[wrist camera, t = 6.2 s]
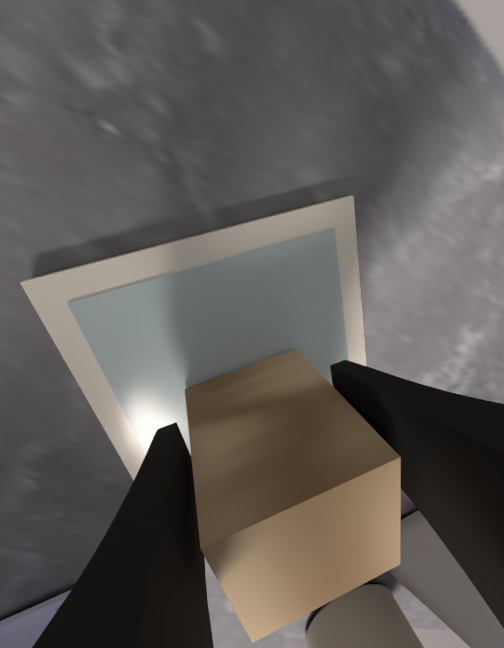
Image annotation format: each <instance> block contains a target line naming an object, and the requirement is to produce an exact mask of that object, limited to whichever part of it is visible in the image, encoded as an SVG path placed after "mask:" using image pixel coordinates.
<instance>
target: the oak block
mask: <svg viewBox="0 0 504 648" xmlns="http://www.w3.org/2000/svg"><path fill="white" fill-rule="evenodd" d="M185 399H186V408H187V418H188V428H189V438H190V448H191V458H192V468H193V478H194V488H195V498H196V508H197V518H198V528H199V538H200V548H201V551H202V553H203V554H204V556H205V558H206V560H207V561H208V563H209V565H210V567H211V569H212V570H213V572H214V574H215V576H216V578H217V579H218V581H219V583H220V585H221V587H222V588H223V590H224V592H225V594H226V596H227V597H228V599H229V601H230V603H231V605H232V606H233V608H234V610H235V612H236V614H237V615H238V617H239V619H240V621H241V623H242V624H243V626H244V628H245V630H246V632H247V633H248V635H249V637H250V639H251V641H252V642H253V643H254V642H256V641H257V640H259V639H261V638H263V637H265V636H267V635H269V634H271V633H272V632H274V631H276V630H278V629H280V628H282V627H284V626H286V625H287V624H289V623H291V622H293V621H295V620H297V619H299V618H301V617H302V616H304V615H306V614H308V613H310V612H312V611H314V610H316V609H317V608H319V607H321V606H323V605H325V604H327V603H329V602H331V601H332V600H334V599H336V598H338V597H340V596H342V595H344V594H346V593H347V592H349V591H351V590H353V589H355V588H357V587H359V586H361V585H362V584H364V583H366V582H368V581H370V580H372V579H374V578H376V577H377V576H379V575H381V574H383V573H385V572H387V571H389V570H391V569H392V568H394V567H396V566H398V565H400V525H401V457H400V456H399V455H398V454H397V453H396V452H395V451H394V450H393V449H392V448H391V447H390V445H389V444H388V443H387V442H386V441H385V440H384V439H383V438H382V437H381V436H380V435H379V434H378V433H377V432H376V431H375V430H374V429H373V428H372V427H371V426H370V425H369V424H368V422H367V421H366V420H365V419H364V418H363V417H362V416H361V415H360V414H359V413H358V412H357V411H356V410H355V409H354V408H353V407H352V406H351V405H350V404H349V403H348V402H347V401H346V399H345V398H344V397H343V396H342V395H341V394H340V393H339V392H338V391H337V390H336V389H335V388H334V387H333V386H332V385H331V384H330V383H329V382H328V381H327V380H326V379H325V378H324V377H323V375H322V374H321V373H320V372H319V371H318V370H317V369H316V368H315V367H314V366H313V365H312V364H311V363H310V362H309V361H308V360H307V359H306V358H305V357H304V356H303V355H302V354H301V352H300V351H299V350H298V349H295V350H292V351H289V352H286V353H283V354H281V355H278V356H275V357H272V358H270V359H267V360H264V361H261V362H259V363H256V364H253V365H250V366H247V367H245V368H242V369H239V370H236V371H234V372H231V373H228V374H225V375H222V376H220V377H217V378H214V379H211V380H209V381H206V382H203V383H200V384H198V385H195V386H192V387H189V388H186V389H185Z"/></svg>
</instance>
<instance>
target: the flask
mask: <svg viewBox="0 0 504 648" xmlns="http://www.w3.org/2000/svg"><path fill="white" fill-rule="evenodd" d="M388 572H389V573H390V574H391V575H392V576H393V577H395V578H396V579H397V580H398V581H399V582H400V583H401V584H402V585H403V586H404V587H406V588H407V589H408V590H409V591H410V592H411V593H412V594H413V595H415V596H416V597H417V598H418V599H419V600H420V601H421V602H422V603H423V604H425V605H426V606H427V607H428V608H429V609H430V610H431V611H432V612H433V613H434V614H436V615H437V616H438V617H439V618H440V619H441V620H442V621H443V622H444V623H445V624H446V625H447V626H448V627H449V628H450V629H451V630H453V631H454V632H455V633H456V634H457V635H458V636H459V637H460V638H461V639H462V640H463V641H464V642H465V643H466V644H467V645H469V646H470V647H471V648H504V628H503V627H502V625H501V624H500V622H499V621H498V619H497V618H496V617H495V615H494V614H493V612H492V611H491V609H490V608H489V606H488V605H487V604H486V602H485V601H484V599H483V598H482V596H481V595H480V594H479V592H478V591H477V589H476V588H475V586H474V585H473V584H472V582H471V581H470V579H469V578H468V576H467V575H466V573H465V572H464V571H463V569H462V568H461V567H460V565H459V564H458V562H457V561H456V560H455V558H454V557H453V556H452V554H451V553H450V551H449V550H448V549H447V547H446V546H445V545H444V543H443V542H442V540H441V539H440V538H439V536H438V535H437V534H436V532H435V531H434V530H433V528H432V527H431V526H430V524H429V523H428V522H427V520H426V519H425V518H424V516H423V515H422V514H421V512H420V511H419V510H418V511H416V512H414V513H413V514H411V515H409V516H407V517H406V518H404V519H402V520H401V525H400V565H398V566H396V567H394V568H392V569H391V570H389V571H388Z"/></svg>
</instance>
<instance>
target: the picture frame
mask: <svg viewBox="0 0 504 648" xmlns="http://www.w3.org/2000/svg"><path fill="white" fill-rule="evenodd" d="M20 284H21V286H22V287H23V289H24V291H25V292H26V294H27V296H28V298H29V299H30V301H31V303H32V305H33V306H34V308H35V310H36V312H37V313H38V315H39V317H40V319H41V320H42V322H43V324H44V326H45V327H46V329H47V331H48V333H49V334H50V336H51V338H52V339H53V341H54V343H55V345H56V346H57V348H58V350H59V352H60V353H61V355H62V357H63V359H64V360H65V362H66V364H67V366H68V367H69V369H70V371H71V373H72V374H73V376H74V378H75V379H76V381H77V383H78V385H79V386H80V388H81V390H82V392H83V393H84V395H85V397H86V399H87V400H88V402H89V404H90V406H91V407H92V409H93V411H94V413H95V414H96V416H97V418H98V420H99V421H100V423H101V425H102V426H103V428H104V430H105V432H106V433H107V435H108V437H109V439H110V440H111V442H112V444H113V446H114V447H115V449H116V451H117V453H118V454H119V456H120V458H121V460H122V461H123V463H124V465H125V466H126V468H127V470H128V472H129V473H130V475H131V477H132V479H133V480H134V479H135V477H136V475H137V473H138V471H139V469H140V467H141V464H142V462H143V460H144V458H145V456H146V453H147V451H148V449H149V447H150V444H151V442H152V440H153V437H154V435H155V433H156V431H157V429H159V428H162V427H165V426H167V425H170V424H173V423H176V422H177V425H178V427H179V429H180V432H181V434H182V436H183V439H184V441H185V443H186V446H187V448H188V450H189V452H190V455H191V448H190V438H189V428H188V418H187V408H186V399H185V389H186V388H189V387H192V386H195V385H198V384H200V383H203V382H206V381H209V380H211V379H214V378H217V377H220V376H222V375H225V374H228V373H231V372H234V371H236V370H239V369H242V368H245V367H247V366H250V365H253V364H256V363H259V362H261V361H264V360H267V359H270V358H272V357H275V356H278V355H281V354H283V353H286V352H289V351H292V350H295V349H298V350H299V351H300V352H301V354H302V355H303V356H304V357H305V358H306V359H307V360H308V361H309V362H310V363H311V364H312V365H313V366H314V367H315V368H316V369H317V370H318V371H319V372H320V373H321V374H322V375H323V377H324V378H325V379H326V380H327V381H328V382H329V383H330V384H331V385H332V386H333V384H332V377H331V370H330V365H332V364H335V363H338V362H340V361H343V360H348V361H351V362H355V363H358V364H361V365H364V366H366V354H365V341H364V328H363V314H362V301H361V288H360V275H359V262H358V249H357V235H356V222H355V209H354V196H353V195H352V196H346V197H340V198H336V199H333V200H329V201H325V202H321V203H317V204H313V205H310V206H306V207H302V208H298V209H294V210H290V211H287V212H283V213H279V214H275V215H271V216H267V217H263V218H260V219H256V220H252V221H248V222H244V223H240V224H237V225H233V226H229V227H225V228H221V229H217V230H214V231H210V232H206V233H202V234H198V235H194V236H191V237H187V238H183V239H179V240H175V241H171V242H167V243H164V244H160V245H156V246H152V247H148V248H144V249H141V250H137V251H133V252H129V253H125V254H121V255H118V256H114V257H110V258H106V259H102V260H98V261H95V262H91V263H87V264H83V265H79V266H75V267H71V268H68V269H64V270H60V271H56V272H52V273H48V274H45V275H41V276H37V277H33V278H30V279H27V280H25V281H22V282H20Z"/></svg>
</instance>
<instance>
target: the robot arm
mask: <svg viewBox="0 0 504 648" xmlns="http://www.w3.org/2000/svg"><path fill="white" fill-rule="evenodd" d="M330 370H331V377H332V384H333V387H334V388H335V389H336V390H337V391H338V392H339V393H340V394H341V395H342V396H343V397H344V398H345V399H346V401H347V402H348V403H349V404H350V405H351V406H352V407H353V408H354V409H355V410H356V411H357V412H358V413H359V414H360V415H361V416H362V417H363V418H364V419H365V420H366V421H367V422H368V424H369V425H370V426H371V427H372V428H373V429H374V430H375V431H376V432H377V433H378V434H379V435H380V436H381V437H382V438H383V439H384V440H385V441H386V442H387V443H388V444H389V445H390V447H391V448H392V449H393V450H394V451H395V452H396V453H397V454H398V455H399V456H400V457H401V489H402V490H403V491H404V492H405V494H406V495H407V496H408V497H409V498H410V500H411V501H412V502H413V503H414V504H415V506H416V507H417V508H418V510H419V511H420V512H421V514H422V515H423V516H424V518H425V519H426V520H427V522H428V523H429V524H430V526H431V527H432V528H433V530H434V531H435V532H436V534H437V535H438V536H439V538H440V539H441V540H442V542H443V543H444V545H445V546H446V547H447V549H448V550H449V551H450V553H451V554H452V556H453V557H454V558H455V560H456V561H457V562H458V564H459V565H460V567H461V568H462V569H463V571H464V572H465V573H466V575H467V576H468V578H469V579H470V581H471V582H472V584H473V585H474V586H475V588H476V589H477V591H478V592H479V594H480V595H481V596H482V598H483V599H484V601H485V602H486V604H487V605H488V606H489V608H490V609H491V611H492V612H493V614H494V615H495V617H496V618H497V619H498V621H499V622H500V624H501V625H502V627H503V628H504V404H501V403H496V402H491V401H486V400H481V399H477V398H472V397H468V396H463V395H459V394H455V393H451V392H447V391H443V390H440V389H436V388H432V387H429V386H425V385H422V384H418V383H415V382H412V381H409V380H405V379H402V378H399V377H396V376H393V375H390V374H387V373H384V372H381V371H378V370H375V369H372V368H370V367H367V366H364V365H361V364H358V363H355V362H351V361H348V360H343V361H340V362H338V363H335V364H332V365H330ZM0 648H213V640H212V633H211V625H210V618H209V610H208V603H207V592H206V579H205V561H204V554H203V553H202V551H201V548H200V538H199V528H198V518H197V508H196V498H195V488H194V478H193V468H192V458H191V455H190V452H189V450H188V448H187V446H186V443H185V441H184V439H183V436H182V434H181V432H180V429H179V427H178V425H177V422H176V423H173V424H170V425H167V426H165V427H162V428H159V429H157V431H156V433H155V435H154V437H153V440H152V442H151V444H150V447H149V449H148V451H147V453H146V456H145V458H144V460H143V462H142V464H141V467H140V469H139V471H138V473H137V475H136V477H135V479H134V481H133V483H132V485H131V487H130V489H129V492H128V494H127V496H126V498H125V499H124V501H123V503H122V505H121V507H120V509H119V511H118V513H117V514H116V516H115V518H114V520H113V522H112V524H111V526H110V527H109V529H108V531H107V533H106V535H105V536H104V538H103V540H102V542H101V543H100V545H99V547H98V548H97V550H96V552H95V553H94V555H93V557H92V558H91V560H90V562H89V563H88V565H87V566H86V568H85V570H84V571H83V573H82V575H81V576H80V578H79V579H78V581H77V582H76V584H75V585H74V587H73V588H72V590H69V591H67V592H65V593H63V594H60V595H58V596H56V597H54V598H51V599H49V600H47V601H45V602H42V603H40V604H38V605H35V606H33V607H31V608H29V609H26V610H24V611H22V612H20V613H17V614H15V615H13V616H11V617H8V618H6V619H4V620H2V621H0Z"/></svg>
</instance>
